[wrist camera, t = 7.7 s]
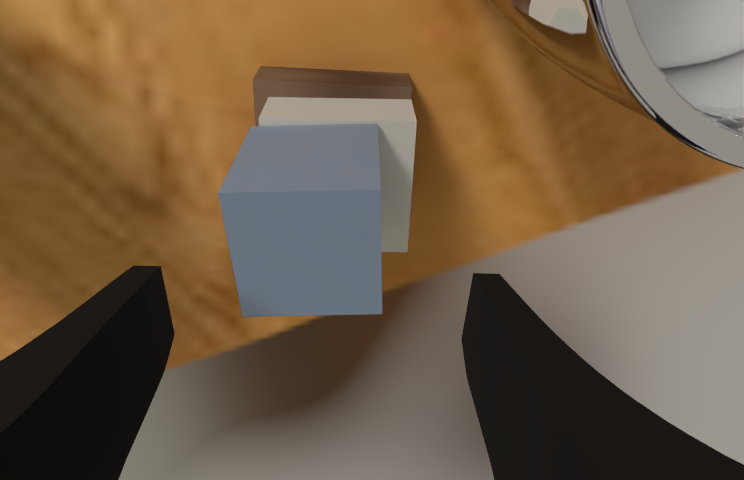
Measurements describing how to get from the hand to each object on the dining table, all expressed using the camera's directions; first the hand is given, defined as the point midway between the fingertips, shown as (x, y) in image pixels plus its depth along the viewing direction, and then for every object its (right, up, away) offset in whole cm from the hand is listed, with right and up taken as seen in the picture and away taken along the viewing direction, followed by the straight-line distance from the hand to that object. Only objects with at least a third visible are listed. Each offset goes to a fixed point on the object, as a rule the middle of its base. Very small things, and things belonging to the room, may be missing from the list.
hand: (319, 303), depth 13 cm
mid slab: (0, +4, +8) cm, 9 cm away
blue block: (-1, +3, +5) cm, 7 cm away
